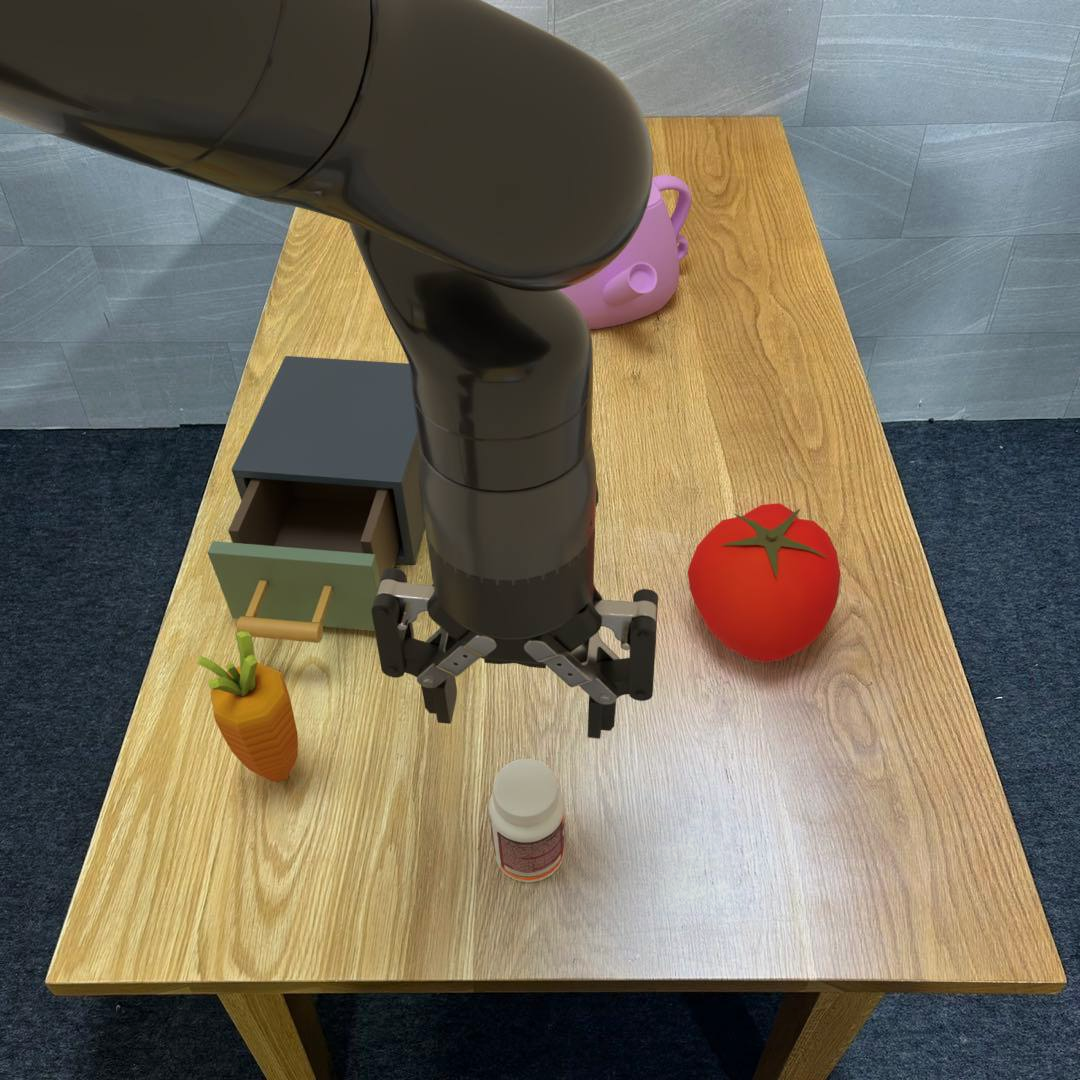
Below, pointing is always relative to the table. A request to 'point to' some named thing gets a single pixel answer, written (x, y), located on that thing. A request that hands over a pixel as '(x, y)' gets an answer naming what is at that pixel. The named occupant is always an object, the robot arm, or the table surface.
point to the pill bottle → (527, 820)
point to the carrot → (254, 713)
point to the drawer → (306, 557)
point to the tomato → (765, 582)
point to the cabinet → (340, 434)
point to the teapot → (639, 265)
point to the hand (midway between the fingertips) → (521, 717)
